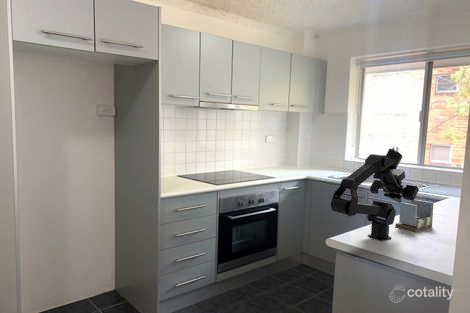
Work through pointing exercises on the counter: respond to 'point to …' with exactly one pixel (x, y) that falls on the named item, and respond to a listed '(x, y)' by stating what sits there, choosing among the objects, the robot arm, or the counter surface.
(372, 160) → the robot arm
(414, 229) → the gauge frame
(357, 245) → the counter surface
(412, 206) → the pale blue shelf board
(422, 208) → the brushed steel plate
